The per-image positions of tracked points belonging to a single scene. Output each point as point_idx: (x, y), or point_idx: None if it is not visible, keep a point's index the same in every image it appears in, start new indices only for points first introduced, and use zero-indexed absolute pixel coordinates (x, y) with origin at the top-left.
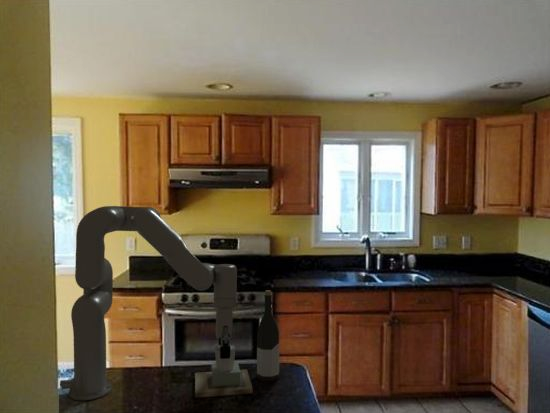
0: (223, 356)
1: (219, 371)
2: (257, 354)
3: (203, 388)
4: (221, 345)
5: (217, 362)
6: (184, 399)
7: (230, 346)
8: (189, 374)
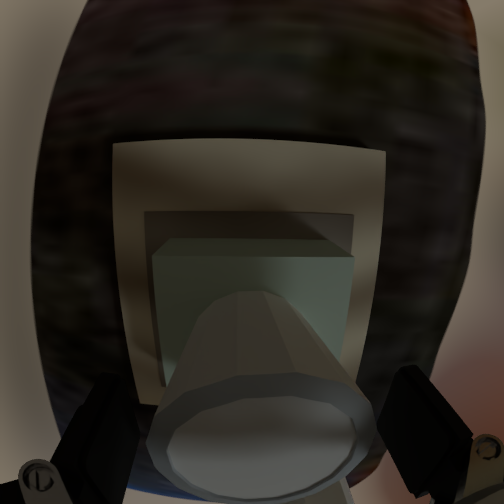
0: (82, 405)
1: (193, 306)
2: (299, 499)
3: (157, 186)
4: (21, 471)
5: (214, 321)
6: (118, 98)
7: (282, 486)
8: (409, 130)
